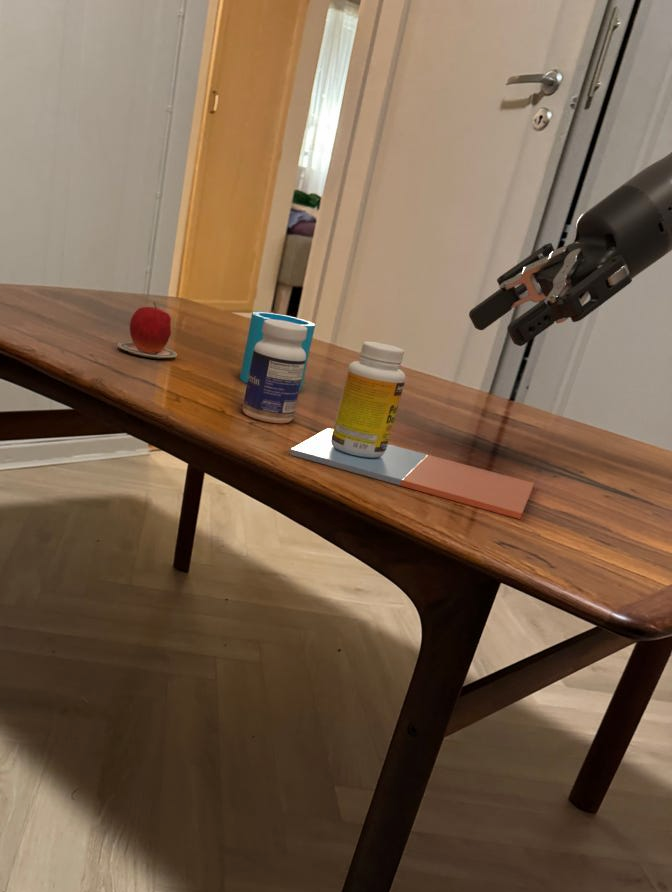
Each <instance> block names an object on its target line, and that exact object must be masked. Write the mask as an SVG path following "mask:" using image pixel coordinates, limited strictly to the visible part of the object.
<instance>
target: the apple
mask: <svg viewBox="0 0 672 892" xmlns="http://www.w3.org/2000/svg"><path fill="white" fill-rule="evenodd" d="M152 303H153V306H141V307H139V308H138V309H137V310H135V311H134V312H133V315H132V316H131V319H130V322H129V334H130V338H131V340H132V342H129V341H125V342H124V341H123V342H119V343H118V344H117V347H118V348H120V350H121V349H122V350H124V351H126V352H127V353H129V354H132V355H135V356H138V357H141V358H142V357H144V358H148V359H156V360H157V359H158V360H161V359H162V360H164V359H171V358H176V357H177V356H178V354H177V352H176V351H173V350H171V349H169V348H165V347H166V346H167V344H168V343H169V339H170V337H171V334H172V329H171V326H172V325H171V322H172V321H171V319H172V316H171V314H170V313H169V312H167V311H166V310H164V309H161V308H158V307H157V306H156V304H157V303H156V302H154V301H152Z"/></svg>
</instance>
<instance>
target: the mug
mask: <svg viewBox="0 0 672 892" xmlns="http://www.w3.org/2000/svg"><path fill="white" fill-rule="evenodd" d="M268 319H273V320H282V321H288V322H292V323H296V324H300V325H302V326H305V327H307V334H306V339H305V340H304V341H303V342H302V345H301V347H302V349H303V350H304V351H305V353H306V361H305V365H304V370H303V374H302V379H301V384H300V388H299V392H301V391H302V387H303V383H304V379H305V373H306V370H307V369H306V368H307V364H308V361H309V360H308V359H309V355H310V350H311V346H312V342H313V337H314V332H315V328H316V324H315V323H313V322H312V321H309V320H307V319H303V318H299V317H295V316H291V315H285V314H282V313H281V314H279V313H273V312H267V311H252V313H251V316H250V321H249V327H248V333H247V337H246V343H245V349H244V354H243V360H242V364H241V369H240V375H239V380H240V381H242V382H244V383H245V384H247V382H248V377H249V372H250V366H251V361H252V356H253V351H254V347H255V345H256V344H257V343H258V342H259V341H261V340H262V339H263V336H264V334H263V332H262V328H263V323H264V320H268Z"/></svg>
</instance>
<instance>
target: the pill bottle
mask: <svg viewBox="0 0 672 892" xmlns="http://www.w3.org/2000/svg"><path fill="white" fill-rule="evenodd" d="M262 332H263V334H264V336H263V339H262V340H261V341H259V342H258V343H257V344H256V345H255V347H254V351H253V356H252V361H251V366H250V372H249V377H248V382H247V383H246V386H245V387H246V388H245V392H244V398H243V404H242V411H243V413H244V414H245V415H246V416H247V417H249V418H251V419H255V420H257V421H261V422H266V423H270V424H288V423H290V422H291V421H293V419H294V415H295V412H296V408H297V403H298V397H299V392H300V391H299V388H300V384H301V379H302V374H303V370H304V365H305V361H306V353H305V351H304V350H303V349H302V347H301V345H302V342H303V341H304V340H305V339H306V334H307V327H305V326H302V325H300V324H296V323H292V322H288V321H282V320H273V319H268V320H264V323H263V328H262Z"/></svg>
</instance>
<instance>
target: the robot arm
mask: <svg viewBox="0 0 672 892" xmlns="http://www.w3.org/2000/svg"><path fill="white" fill-rule="evenodd" d="M575 230H576V232H575V237H574V238H575V239H574V241H573V242H572V243H569V244H568V245H564V246H561V247H559V248H556V249H555V248H554V246H553V244H552V242H549V243H545V244H544V245H542V246H541V247H540V248H538V249H537V250H536V251H534V252H532V253H531V254H530V255H528V256H527V257H526V258H524V259H523V260H521V261H520V262H518V263H517V264H516V265H514V266H513V267H511V268H510V269H509V270H507V271H506V272H504V273H503V274H501V275H500V276H499V277H498V278H497V279H496V282H497V284H498V288H499V289H498V290H496V291H495V292H493V293H492V294H491V295H490V296H488V297H487V298H485V299H484V300H483V301H481V302H480V303H479V304H477V305H476V306H474V307H473V308H472V309H470V311H469V313H468V317H469V319H470V321H471V323H472V325H473V327H474V328H475V329H476V330H478V331H483V330H486V329H487V328H488V327H489V326H491V325H493V324H494V323H495V322H497V321H498V320H499V319H500V318H502V317H504V315H506V314H508V313H509V312H510V311H511V310H513V308H516V307H519V306H520V305H524V304H525V303H527V302H529V301H530V302H533V303H534V304H535V303H536V304H535V305H534V306H532V307H531V308H529V309H528V310H527V311H525V312H524V313H523V314H521V315H520V316H518V317H517V318H516V319H514V320H513V321H512V322H510V323H508V326H507V328H506V331H507V333H508V335H509V338H510V339H511V341H512V343H513V344H514V345H516V346H518V347H522V346H525V345H526V344H527V343H529V342H530V341H531V340H533V339H534V338H535V337H537V336H538V335H539V334H541V333H542V332H544V331H545V330H546V329H548V328H550V327H551V326H552V325H554V324H555V323H556V324H560V323H561V324H562V323H563V322H565V321H567V320H568V319H569V318H570V319H571V321H572V323H577V322H580V321H581V320H583V319H584V318H586V317H587V316H589V314H591V313H592V312H594V311H595V310H597V309H598V308H599V307H600V306H602V305H603V304H605V302H607V301H609V300H610V299H611V298H613V297H614V296H615V295H616V294H618V293H619V292H620V291H622V290H623V289H624V288H626V287H627V286H628V285H630V284H631V283H632V282H633V279H634V278H635V277H636V276H638V275H639V274H640V273H642V272H644V271H645V270H647V269H648V268H649V267H651V266H652V265H653V264H655V263H656V262H658V261H659V260H660V259H662V258H663V257H664V256H666V255H667V254H669V253H670V252H671V251H672V151H671V152H670V153H668V154H667V155H665V156H664V157H663V158H660V159H658V160H657V161H655V162H654V163H652V164H650V165H648V166H646V167H644V169H642V170H641V171H639V172H637V173H636V174H635V175H634V176H632V177H631V178H629V179H628V180H627V181H625V182H624V183H622V184H621V185H620V186H619V187H617V188H616V189H614V190H613V191H612V192H611V193H609V194H608V195H606V196H605V197H603V198H602V199H601V200H599V201H598V202H597V203H595V204H594V205H593V206H592V207H590V208H589V209H588V210H585V212H583V213H582V214H581V215H580V216H579V218H578V219H577V222H576V227H575ZM589 297H590V298H589ZM588 298H589V300H588ZM586 300H588V301H587V302H586V303H585V301H586Z"/></svg>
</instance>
